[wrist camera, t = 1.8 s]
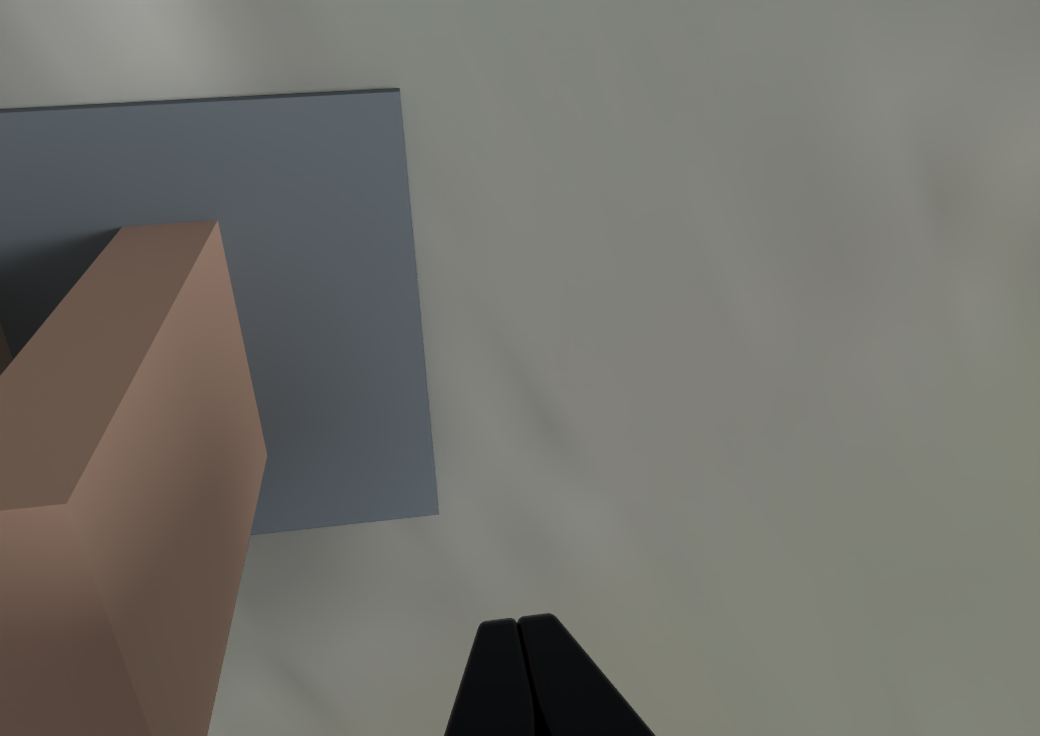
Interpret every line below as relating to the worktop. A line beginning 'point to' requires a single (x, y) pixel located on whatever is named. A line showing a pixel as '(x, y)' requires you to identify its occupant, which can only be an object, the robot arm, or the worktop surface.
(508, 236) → the worktop surface
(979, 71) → the worktop surface
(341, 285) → the mat
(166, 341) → the domino
